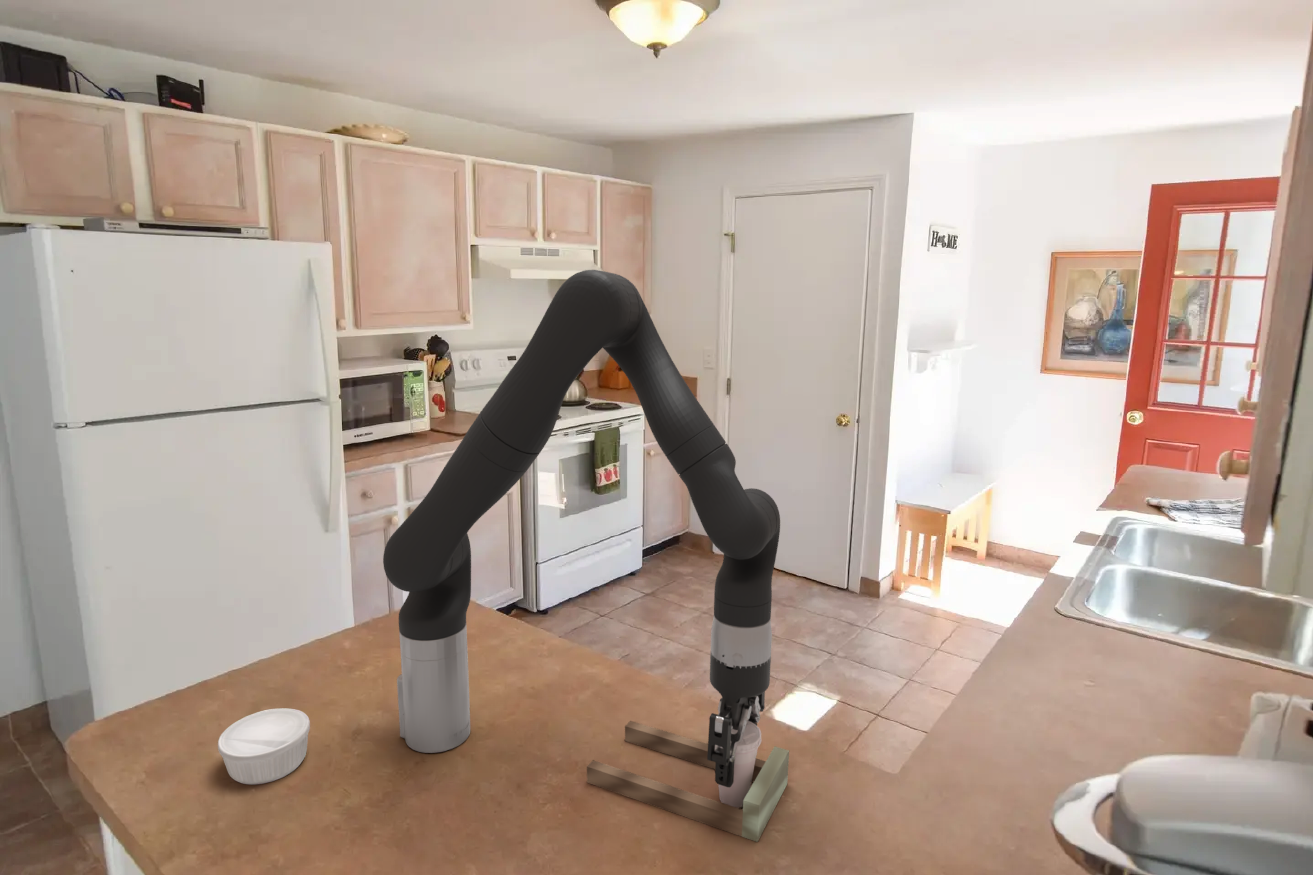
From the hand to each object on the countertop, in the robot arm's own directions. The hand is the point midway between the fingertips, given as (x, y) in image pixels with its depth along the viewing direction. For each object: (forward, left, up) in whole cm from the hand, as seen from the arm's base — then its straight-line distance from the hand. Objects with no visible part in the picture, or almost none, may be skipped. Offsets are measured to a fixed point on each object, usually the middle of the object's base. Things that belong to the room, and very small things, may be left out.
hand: (736, 765), depth 98 cm
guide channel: (-7, 0, -5) cm, 8 cm away
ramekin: (-60, -23, -5) cm, 64 cm away
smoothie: (0, 0, -5) cm, 5 cm away
